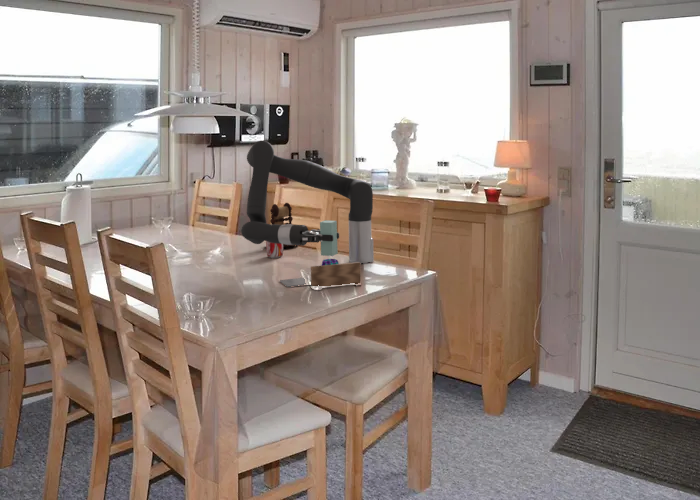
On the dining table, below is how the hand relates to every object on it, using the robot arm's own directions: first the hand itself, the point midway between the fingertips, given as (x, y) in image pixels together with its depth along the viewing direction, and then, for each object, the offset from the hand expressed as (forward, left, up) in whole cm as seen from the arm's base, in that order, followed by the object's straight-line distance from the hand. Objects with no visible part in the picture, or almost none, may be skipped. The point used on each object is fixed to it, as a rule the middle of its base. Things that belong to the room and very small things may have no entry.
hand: (335, 236), depth 258 cm
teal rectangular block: (+2, -2, -7) cm, 7 cm away
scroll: (-2, -76, -17) cm, 78 cm away
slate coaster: (+13, -6, -17) cm, 22 cm away
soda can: (+7, -55, -17) cm, 58 cm away
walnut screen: (+2, +5, -17) cm, 18 cm away
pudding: (-4, -17, -17) cm, 25 cm away
